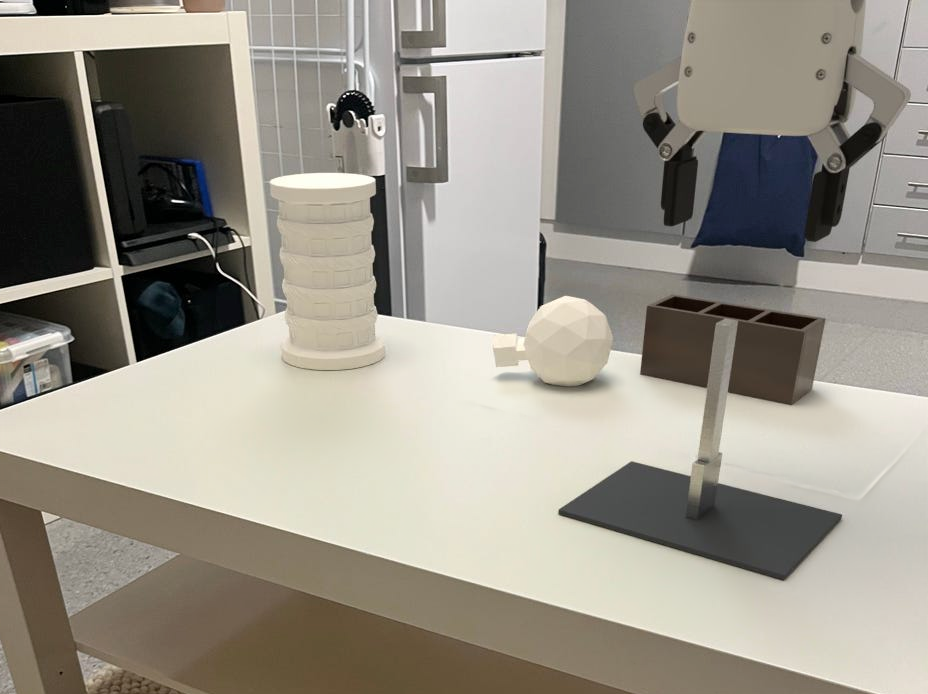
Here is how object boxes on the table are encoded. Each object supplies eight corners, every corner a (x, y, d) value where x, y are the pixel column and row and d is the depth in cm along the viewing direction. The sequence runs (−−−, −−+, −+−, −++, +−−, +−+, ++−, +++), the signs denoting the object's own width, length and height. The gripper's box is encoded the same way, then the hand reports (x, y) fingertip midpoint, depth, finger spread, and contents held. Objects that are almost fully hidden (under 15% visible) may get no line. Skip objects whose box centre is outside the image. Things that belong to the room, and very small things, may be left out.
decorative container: (406, 350, 115) (401, 178, 105) (339, 377, 107) (327, 192, 97) (329, 334, 121) (318, 169, 111) (260, 358, 113) (242, 182, 103)
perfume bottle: (615, 352, 108) (504, 361, 110) (611, 274, 101) (492, 285, 103) (615, 403, 102) (497, 411, 104) (610, 323, 95) (485, 334, 98)
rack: (664, 366, 110) (672, 294, 106) (811, 394, 102) (826, 318, 98) (639, 379, 106) (646, 305, 102) (790, 410, 98) (804, 331, 94)
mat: (841, 519, 77) (842, 514, 77) (783, 580, 69) (785, 575, 69) (630, 465, 86) (631, 460, 86) (558, 514, 78) (558, 509, 78)
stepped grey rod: (714, 506, 79) (743, 317, 71) (697, 520, 76) (724, 328, 69) (702, 503, 79) (729, 315, 71) (684, 517, 77) (710, 325, 69)
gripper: (964, -95, 56) (896, 233, 65) (676, -78, 65) (652, 209, 74) (927, -101, 51) (859, 256, 60) (619, -82, 60) (601, 227, 69)
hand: (744, 230), depth 67 cm, fingers open, 9 cm apart
